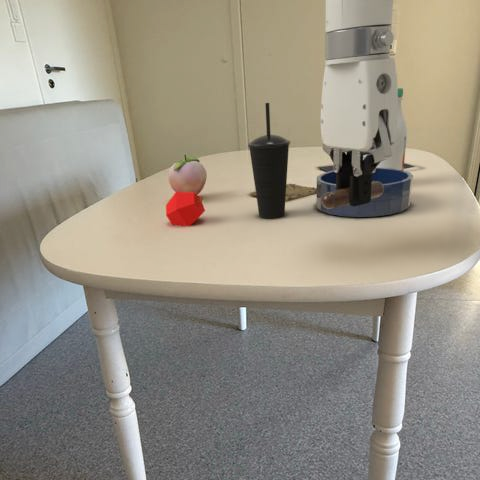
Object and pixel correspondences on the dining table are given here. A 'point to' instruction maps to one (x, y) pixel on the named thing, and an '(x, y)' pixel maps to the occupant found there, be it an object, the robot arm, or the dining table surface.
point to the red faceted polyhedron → (184, 208)
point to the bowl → (388, 203)
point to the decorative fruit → (187, 176)
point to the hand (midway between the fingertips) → (353, 201)
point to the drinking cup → (270, 171)
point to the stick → (348, 196)
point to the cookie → (296, 192)
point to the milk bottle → (397, 141)
